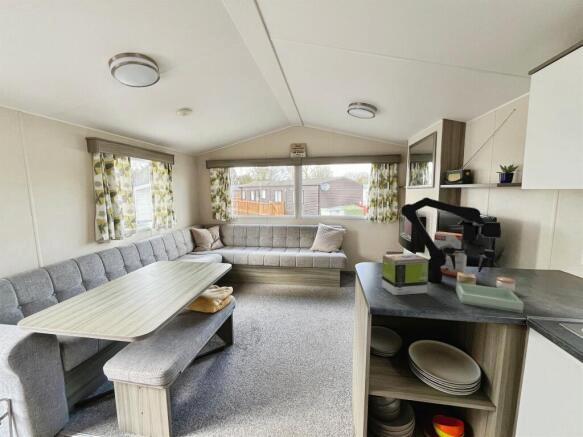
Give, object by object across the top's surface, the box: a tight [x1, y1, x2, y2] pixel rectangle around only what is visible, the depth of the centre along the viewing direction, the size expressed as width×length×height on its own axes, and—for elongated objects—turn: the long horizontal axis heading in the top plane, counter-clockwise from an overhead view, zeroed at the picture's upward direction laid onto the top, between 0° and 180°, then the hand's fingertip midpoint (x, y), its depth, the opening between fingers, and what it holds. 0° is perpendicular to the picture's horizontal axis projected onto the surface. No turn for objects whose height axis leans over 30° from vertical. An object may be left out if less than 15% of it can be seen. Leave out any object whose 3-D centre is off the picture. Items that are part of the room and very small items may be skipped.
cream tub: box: [495, 276, 516, 294], centre depth 108 cm, size 6×6×5 cm
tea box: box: [381, 253, 429, 296], centre depth 107 cm, size 15×10×15 cm
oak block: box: [456, 272, 477, 285], centre depth 114 cm, size 6×6×5 cm
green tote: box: [455, 281, 525, 314], centre depth 98 cm, size 18×14×4 cm
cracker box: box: [433, 231, 468, 277], centre depth 131 cm, size 14×6×21 cm, turn 43°
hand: (466, 270), depth 114 cm, fingers open, 9 cm apart
